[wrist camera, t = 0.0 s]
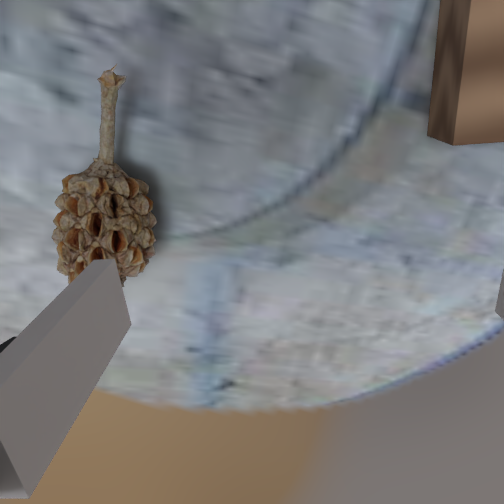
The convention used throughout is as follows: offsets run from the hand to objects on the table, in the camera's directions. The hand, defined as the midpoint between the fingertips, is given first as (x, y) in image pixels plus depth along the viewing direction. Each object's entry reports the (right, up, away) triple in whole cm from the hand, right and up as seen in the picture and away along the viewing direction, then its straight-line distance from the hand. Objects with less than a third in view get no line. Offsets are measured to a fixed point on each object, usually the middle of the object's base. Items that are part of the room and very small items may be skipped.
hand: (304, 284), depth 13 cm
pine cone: (-15, +9, +28) cm, 33 cm away
